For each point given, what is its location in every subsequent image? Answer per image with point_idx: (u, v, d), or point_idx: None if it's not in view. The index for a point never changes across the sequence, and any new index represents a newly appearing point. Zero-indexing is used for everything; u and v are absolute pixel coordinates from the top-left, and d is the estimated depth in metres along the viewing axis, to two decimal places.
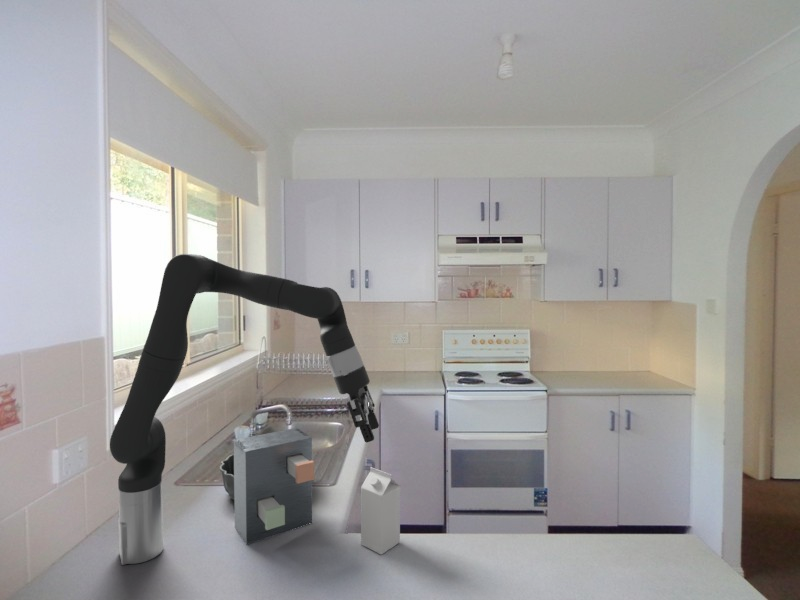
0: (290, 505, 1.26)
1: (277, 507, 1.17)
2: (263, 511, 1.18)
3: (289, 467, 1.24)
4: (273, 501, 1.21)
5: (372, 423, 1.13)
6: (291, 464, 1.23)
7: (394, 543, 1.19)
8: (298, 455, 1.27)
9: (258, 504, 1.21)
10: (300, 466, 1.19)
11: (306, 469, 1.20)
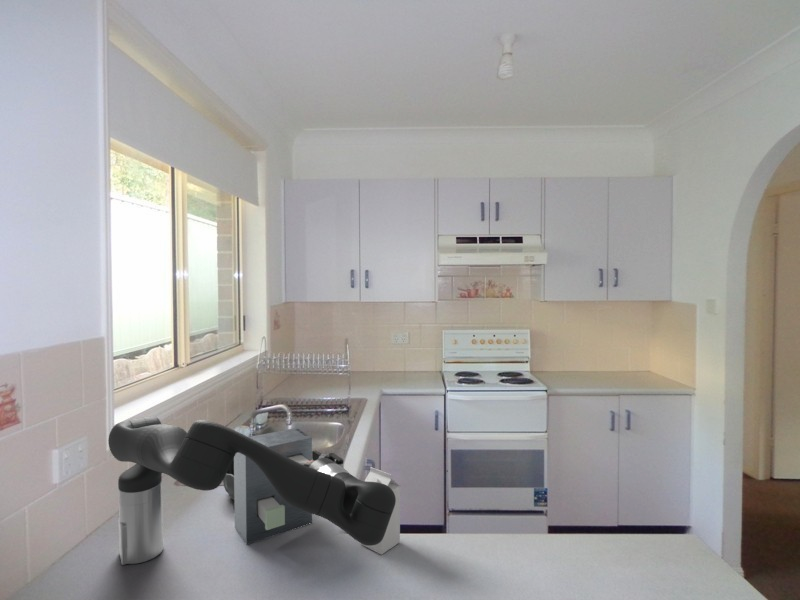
0: (290, 505, 1.26)
1: (277, 507, 1.17)
2: (263, 511, 1.18)
3: None
4: (273, 501, 1.21)
5: (314, 456, 1.14)
6: None
7: (394, 543, 1.19)
8: (298, 455, 1.27)
9: (258, 504, 1.21)
10: None
11: None
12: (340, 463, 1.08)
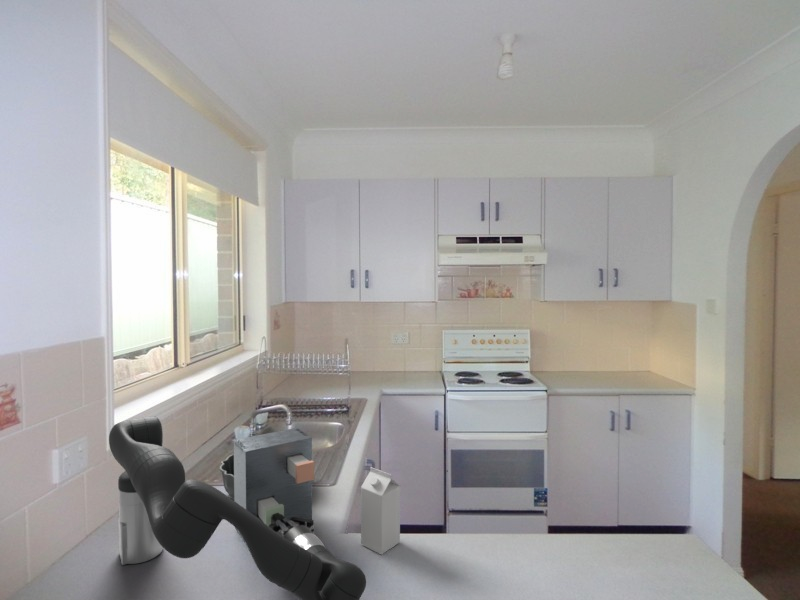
0: (290, 505, 1.26)
1: (276, 506, 1.17)
2: (262, 510, 1.18)
3: (289, 467, 1.24)
4: (272, 500, 1.21)
5: None
6: (291, 464, 1.23)
7: (394, 543, 1.19)
8: (298, 455, 1.27)
9: (257, 503, 1.21)
10: (300, 466, 1.19)
11: (306, 469, 1.20)
12: (312, 524, 1.12)
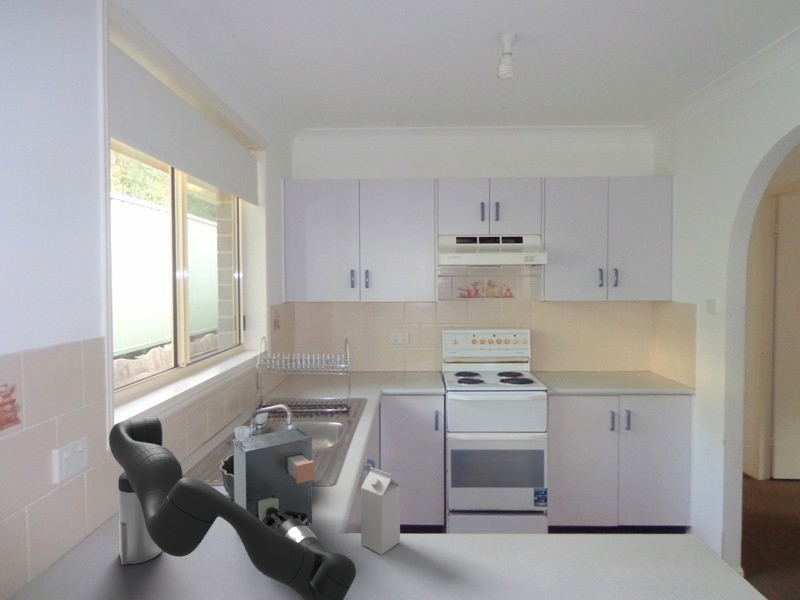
0: (290, 505, 1.26)
1: (271, 500, 1.20)
2: (257, 504, 1.21)
3: (289, 467, 1.24)
4: None
5: None
6: (291, 464, 1.23)
7: (394, 543, 1.19)
8: (298, 455, 1.27)
9: None
10: (300, 466, 1.19)
11: (306, 469, 1.20)
12: (305, 518, 1.15)
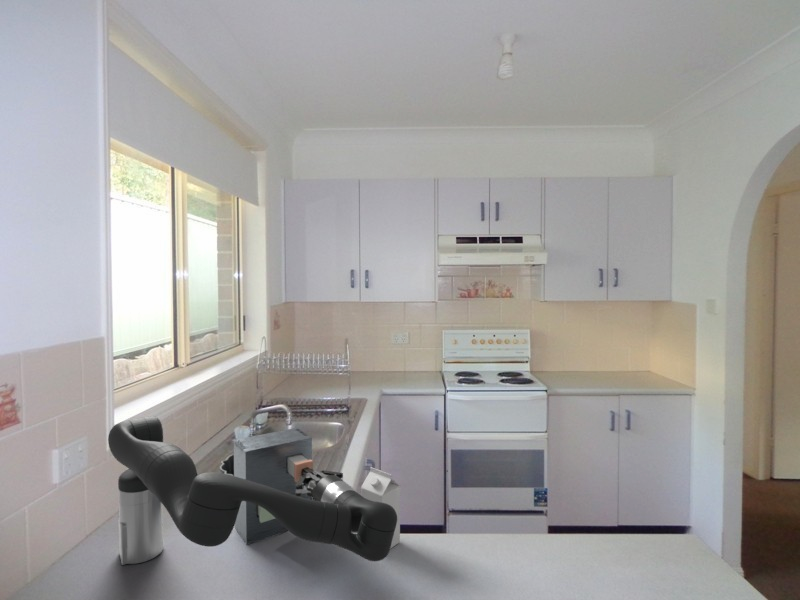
0: None
1: None
2: None
3: (288, 466, 1.25)
4: None
5: None
6: (289, 463, 1.24)
7: (394, 543, 1.19)
8: (297, 454, 1.27)
9: None
10: (299, 465, 1.20)
11: None
12: (341, 476, 1.17)
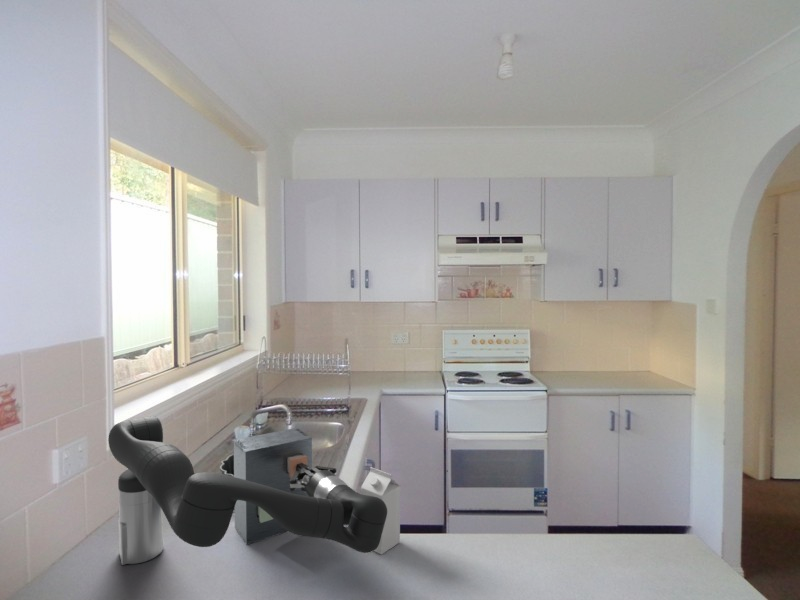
0: None
1: None
2: None
3: None
4: None
5: None
6: None
7: (394, 543, 1.19)
8: None
9: None
10: (293, 461, 1.23)
11: None
12: (335, 472, 1.19)
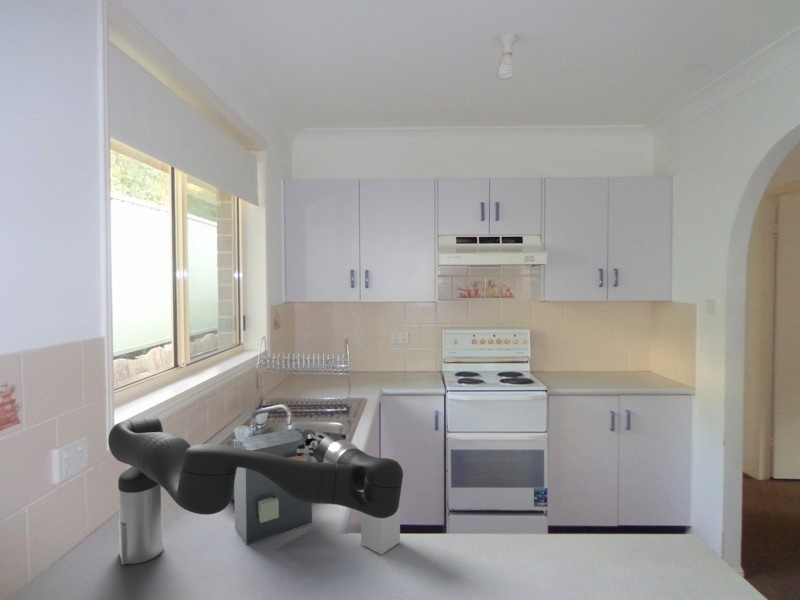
0: (290, 505, 1.26)
1: (271, 500, 1.20)
2: (257, 504, 1.21)
3: None
4: None
5: None
6: None
7: (394, 543, 1.19)
8: None
9: None
10: None
11: None
12: (344, 438, 1.12)
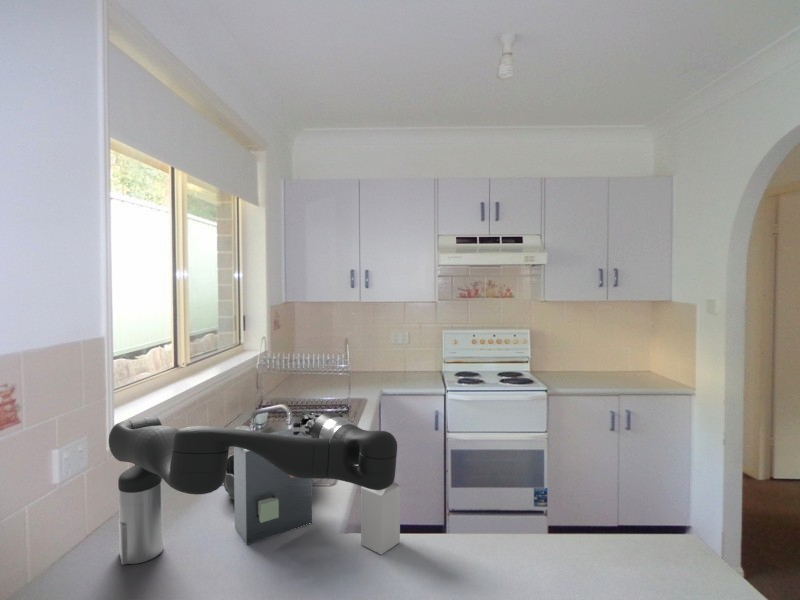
0: (290, 505, 1.26)
1: (271, 500, 1.20)
2: (257, 504, 1.21)
3: None
4: None
5: None
6: None
7: (394, 543, 1.19)
8: None
9: None
10: None
11: None
12: (341, 418, 1.11)
